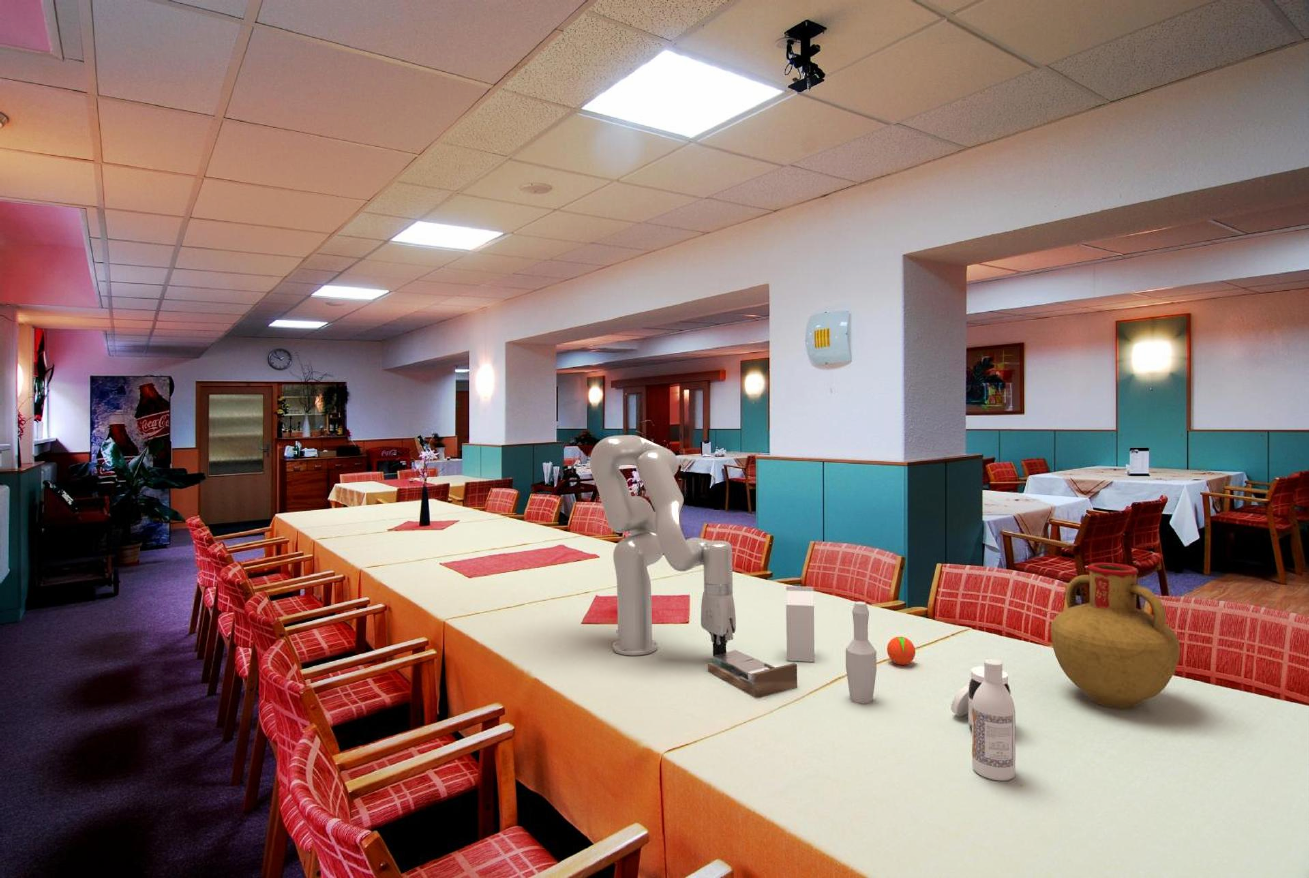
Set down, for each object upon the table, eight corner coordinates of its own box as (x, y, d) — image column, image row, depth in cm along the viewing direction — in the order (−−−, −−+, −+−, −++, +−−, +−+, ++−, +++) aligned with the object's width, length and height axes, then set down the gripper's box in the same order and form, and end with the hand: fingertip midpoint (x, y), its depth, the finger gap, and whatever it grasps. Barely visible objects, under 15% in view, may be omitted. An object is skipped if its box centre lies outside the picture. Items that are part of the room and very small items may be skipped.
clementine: (918, 671, 172) (918, 643, 172) (889, 669, 173) (889, 641, 173) (912, 659, 180) (912, 633, 179) (885, 658, 181) (885, 631, 181)
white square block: (731, 677, 170) (731, 663, 170) (757, 672, 174) (756, 658, 173) (748, 688, 163) (748, 673, 163) (774, 682, 167) (774, 668, 167)
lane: (707, 670, 174) (707, 649, 174) (745, 661, 180) (745, 640, 180) (757, 698, 157) (756, 673, 157) (797, 687, 163) (796, 663, 163)
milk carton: (814, 662, 179) (813, 590, 178) (786, 661, 180) (786, 589, 180) (813, 653, 186) (813, 583, 185) (787, 651, 187) (786, 582, 187)
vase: (1026, 690, 158) (1026, 561, 158) (1095, 673, 168) (1095, 552, 167) (1133, 733, 137) (1134, 584, 136) (1205, 711, 146) (1206, 571, 145)
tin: (712, 669, 177) (712, 655, 177) (735, 662, 181) (735, 649, 181) (731, 678, 170) (731, 664, 170) (754, 671, 174) (754, 658, 174)
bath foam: (978, 758, 128) (977, 652, 127) (1019, 770, 123) (1019, 660, 123) (967, 773, 123) (966, 662, 122) (1009, 786, 118) (1009, 671, 118)
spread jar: (1008, 743, 134) (1008, 684, 133) (946, 729, 140) (945, 673, 139) (1013, 719, 144) (1013, 664, 143) (955, 708, 150) (955, 655, 149)
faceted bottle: (861, 707, 151) (860, 608, 150) (840, 697, 157) (839, 601, 156) (882, 701, 154) (881, 604, 153) (861, 691, 160) (860, 597, 159)
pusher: (748, 688, 162) (748, 672, 162) (779, 680, 167) (778, 664, 166) (751, 690, 161) (751, 673, 161) (782, 682, 166) (782, 665, 165)
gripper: (690, 584, 184) (692, 652, 185) (723, 596, 171) (724, 669, 172) (713, 581, 188) (714, 647, 189) (747, 592, 175) (748, 663, 176)
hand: (719, 657), depth 180 cm, fingers closed
